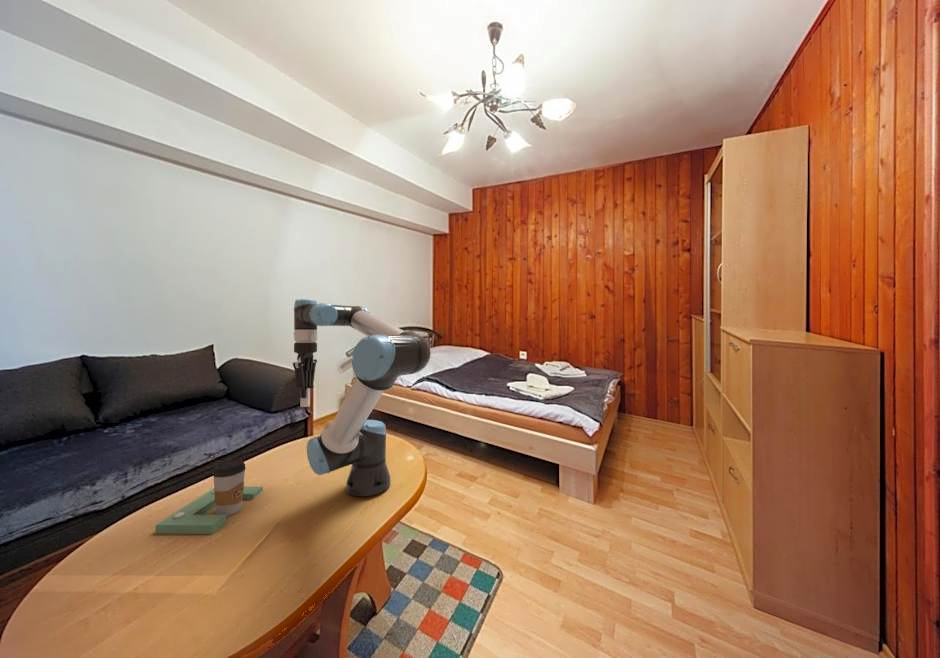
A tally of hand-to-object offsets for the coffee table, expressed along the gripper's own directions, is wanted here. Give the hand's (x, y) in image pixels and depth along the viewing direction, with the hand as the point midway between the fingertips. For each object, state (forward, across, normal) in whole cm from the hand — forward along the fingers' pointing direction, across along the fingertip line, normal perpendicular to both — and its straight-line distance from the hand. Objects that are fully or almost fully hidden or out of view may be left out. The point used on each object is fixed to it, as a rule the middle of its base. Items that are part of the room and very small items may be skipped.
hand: (305, 406), depth 117 cm
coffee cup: (+30, +16, -16) cm, 37 cm away
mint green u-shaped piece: (+29, +16, -21) cm, 40 cm away
